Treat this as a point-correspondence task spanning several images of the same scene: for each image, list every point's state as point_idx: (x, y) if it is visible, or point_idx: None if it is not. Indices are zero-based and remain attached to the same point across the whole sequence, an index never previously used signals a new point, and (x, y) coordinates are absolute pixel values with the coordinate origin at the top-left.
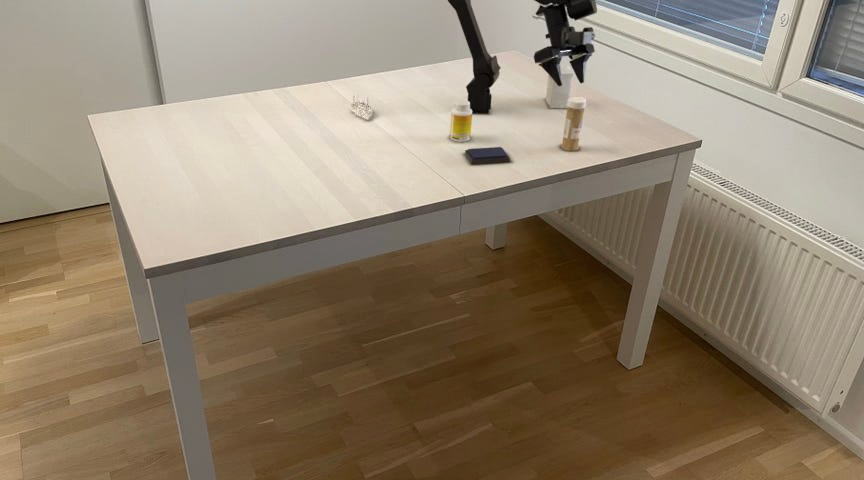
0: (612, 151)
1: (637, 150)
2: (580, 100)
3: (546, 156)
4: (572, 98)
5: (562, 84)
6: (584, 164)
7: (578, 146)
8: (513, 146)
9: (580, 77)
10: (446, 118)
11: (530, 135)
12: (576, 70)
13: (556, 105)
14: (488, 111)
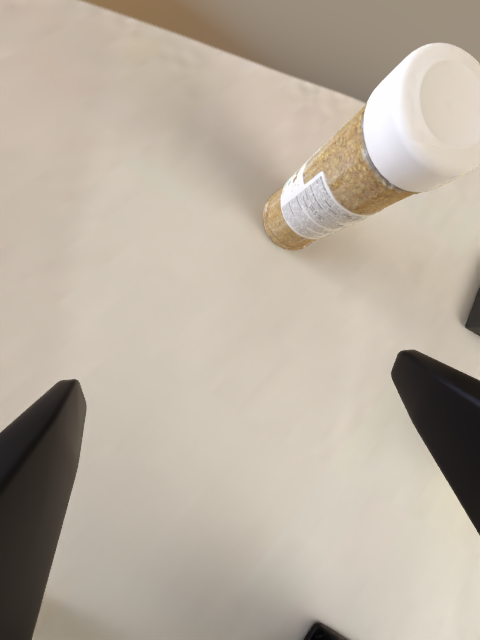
0: (181, 97)
1: (83, 28)
2: (453, 74)
3: (390, 224)
4: (466, 140)
5: (404, 351)
6: (340, 106)
7: (274, 193)
8: (417, 339)
9: (66, 443)
10: (441, 633)
11: (321, 380)
12: (29, 587)
13: None
14: (312, 637)
